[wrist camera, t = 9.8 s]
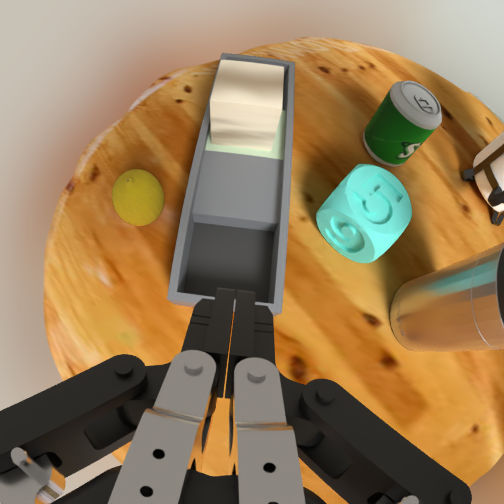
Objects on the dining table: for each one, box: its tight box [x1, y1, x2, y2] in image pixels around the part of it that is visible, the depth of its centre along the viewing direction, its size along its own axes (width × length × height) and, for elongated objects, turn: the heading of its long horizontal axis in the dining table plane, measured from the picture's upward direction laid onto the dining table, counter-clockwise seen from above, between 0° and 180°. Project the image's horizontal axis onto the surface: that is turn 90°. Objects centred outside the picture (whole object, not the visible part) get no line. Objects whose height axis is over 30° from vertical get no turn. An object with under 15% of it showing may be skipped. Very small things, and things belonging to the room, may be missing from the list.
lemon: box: [112, 169, 164, 226], centre depth 30 cm, size 6×6×8 cm
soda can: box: [363, 81, 442, 167], centre depth 34 cm, size 8×8×12 cm
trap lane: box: [167, 53, 295, 316], centre depth 34 cm, size 35×11×4 cm, turn 174°
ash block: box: [210, 60, 284, 151], centre depth 31 cm, size 7×7×8 cm
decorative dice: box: [316, 164, 412, 263], centre depth 32 cm, size 8×8×8 cm
